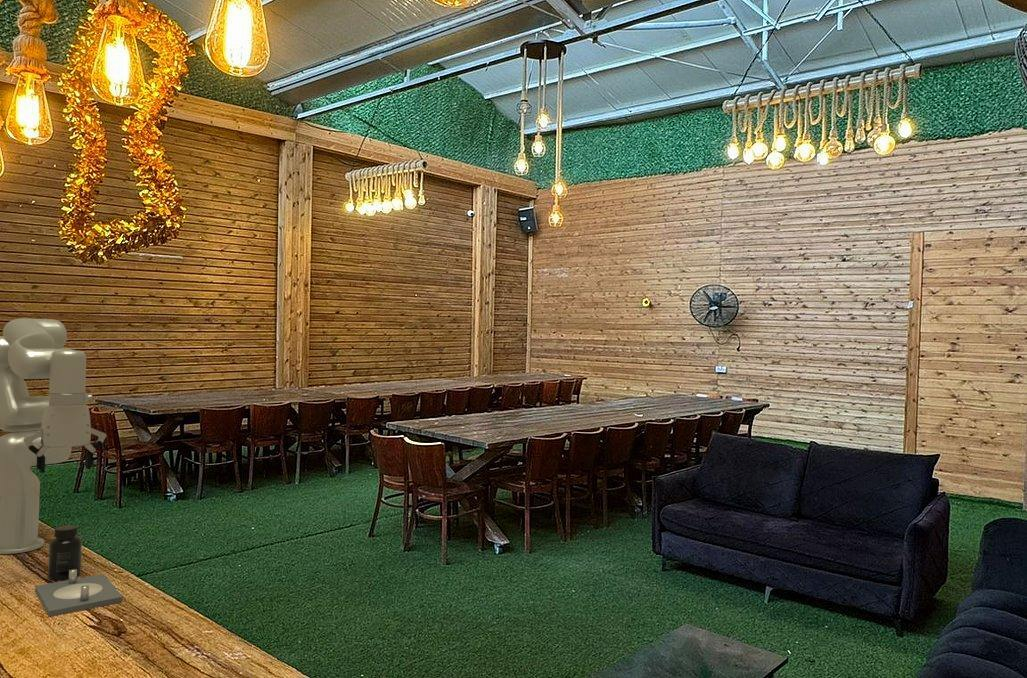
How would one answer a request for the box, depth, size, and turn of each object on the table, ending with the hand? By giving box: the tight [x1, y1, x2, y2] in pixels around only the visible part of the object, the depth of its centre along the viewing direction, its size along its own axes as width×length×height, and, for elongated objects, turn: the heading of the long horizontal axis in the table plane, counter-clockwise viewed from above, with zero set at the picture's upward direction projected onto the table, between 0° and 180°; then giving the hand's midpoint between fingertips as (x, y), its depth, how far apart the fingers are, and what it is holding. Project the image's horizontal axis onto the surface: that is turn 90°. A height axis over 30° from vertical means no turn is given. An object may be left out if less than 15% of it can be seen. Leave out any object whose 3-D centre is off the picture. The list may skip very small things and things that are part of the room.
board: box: [34, 569, 123, 618], centre depth 161 cm, size 18×14×4 cm
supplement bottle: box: [47, 524, 83, 581], centre depth 173 cm, size 7×7×12 cm
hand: (65, 470), depth 172 cm, fingers open, 9 cm apart
